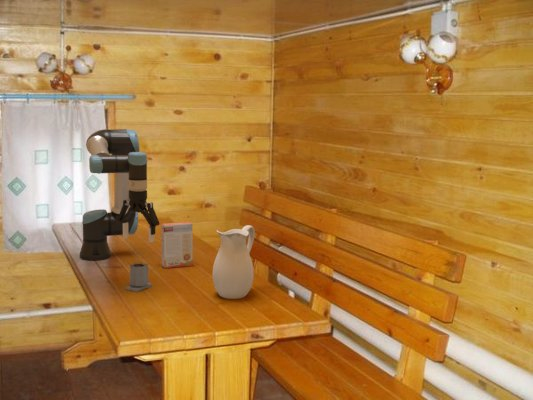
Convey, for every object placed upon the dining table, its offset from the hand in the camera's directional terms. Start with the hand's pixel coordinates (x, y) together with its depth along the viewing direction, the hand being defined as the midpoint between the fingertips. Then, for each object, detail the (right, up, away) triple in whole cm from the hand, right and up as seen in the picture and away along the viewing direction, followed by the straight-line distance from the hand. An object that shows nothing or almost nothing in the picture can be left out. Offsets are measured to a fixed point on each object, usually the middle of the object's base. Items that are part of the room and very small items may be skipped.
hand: (138, 240), depth 267 cm
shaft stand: (0, -20, +3) cm, 21 cm away
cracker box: (+11, -15, +39) cm, 43 cm away
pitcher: (+42, -22, -1) cm, 47 cm away
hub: (0, -19, +3) cm, 19 cm away
